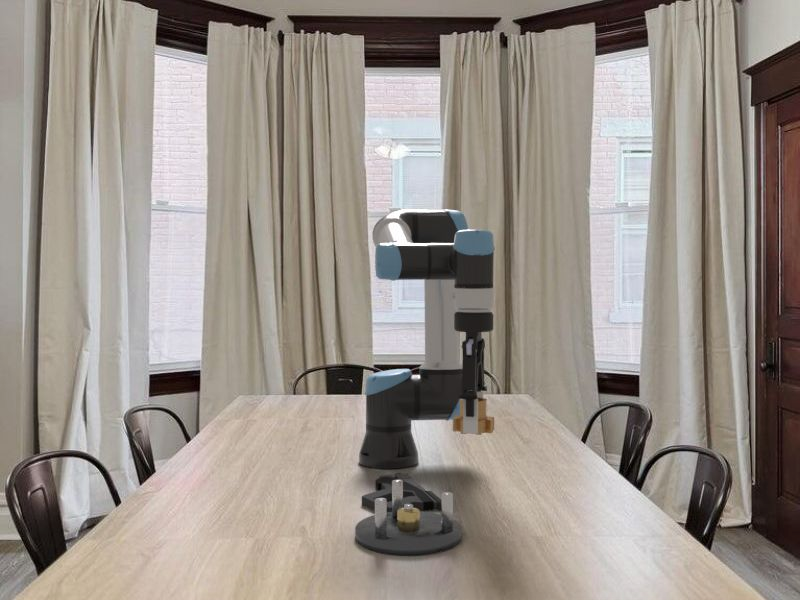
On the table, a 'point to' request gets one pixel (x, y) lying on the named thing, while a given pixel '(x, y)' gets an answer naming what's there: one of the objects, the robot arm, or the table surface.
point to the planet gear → (483, 420)
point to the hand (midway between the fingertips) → (473, 428)
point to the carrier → (408, 527)
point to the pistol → (411, 494)
